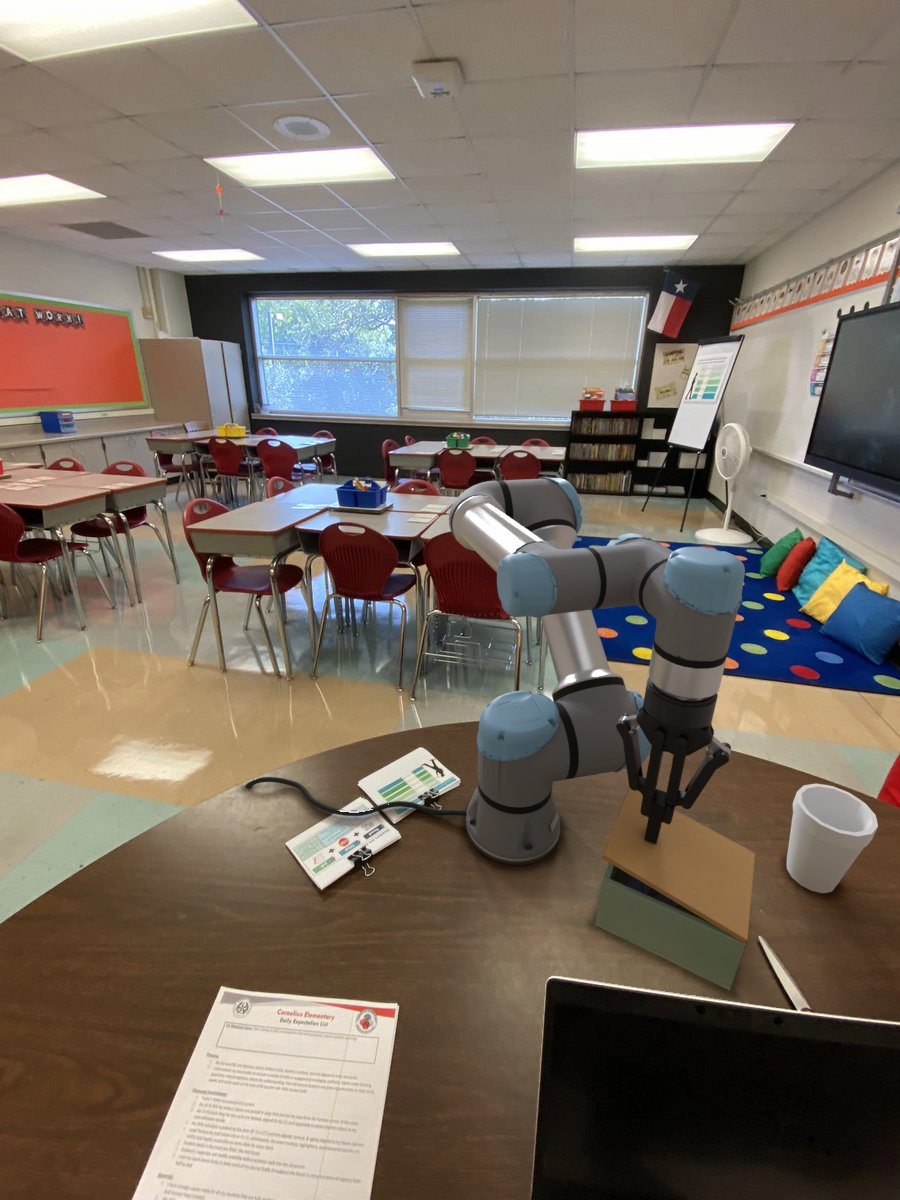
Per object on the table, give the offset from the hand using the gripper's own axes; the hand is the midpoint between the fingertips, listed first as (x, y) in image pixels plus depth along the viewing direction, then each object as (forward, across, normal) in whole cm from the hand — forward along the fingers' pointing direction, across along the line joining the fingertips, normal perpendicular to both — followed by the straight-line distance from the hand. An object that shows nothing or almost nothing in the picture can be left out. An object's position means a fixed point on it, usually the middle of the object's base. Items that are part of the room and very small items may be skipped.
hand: (652, 834), depth 71 cm
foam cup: (+13, -21, -17) cm, 30 cm away
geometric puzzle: (+12, -2, 0) cm, 12 cm away
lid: (+2, -4, 0) cm, 4 cm away
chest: (+13, -4, 0) cm, 13 cm away
